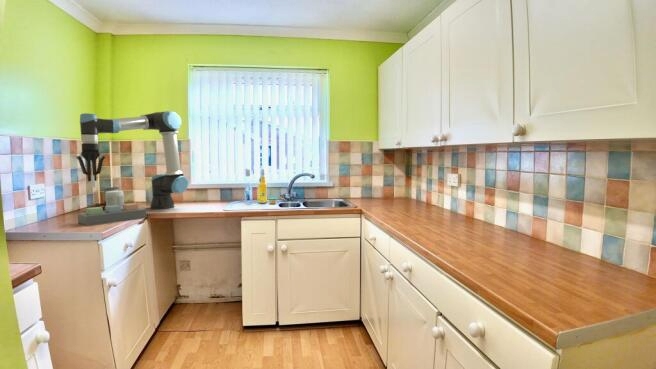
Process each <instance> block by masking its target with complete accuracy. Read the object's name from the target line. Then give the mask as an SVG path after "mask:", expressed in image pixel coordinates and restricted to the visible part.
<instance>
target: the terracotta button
mask: <svg viewBox="0 0 656 369" xmlns="http://www.w3.org/2000/svg"><path fill="white" fill-rule="evenodd" d="M122 206H123V210H125V211H128V210H137V209H138V208H139V206H138V203H135V202H132V203H124V204H122Z"/></svg>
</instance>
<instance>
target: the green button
mask: <svg viewBox="0 0 656 369" xmlns="http://www.w3.org/2000/svg"><path fill="white" fill-rule="evenodd" d="M85 209H86V210H85V213H86V214H87V215H95V214H103V211H104V209H103V208H102V207H101V206H100V207H94V206H93V207H87V208H85Z"/></svg>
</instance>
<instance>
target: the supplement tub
mask: <svg viewBox="0 0 656 369" xmlns="http://www.w3.org/2000/svg"><path fill="white" fill-rule="evenodd" d="M124 195H125V194H124V191H123V190H119V191H107V192H105V198H106V206H112V205H119V206H121V209H123V206H122V204H125V196H124Z"/></svg>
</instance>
